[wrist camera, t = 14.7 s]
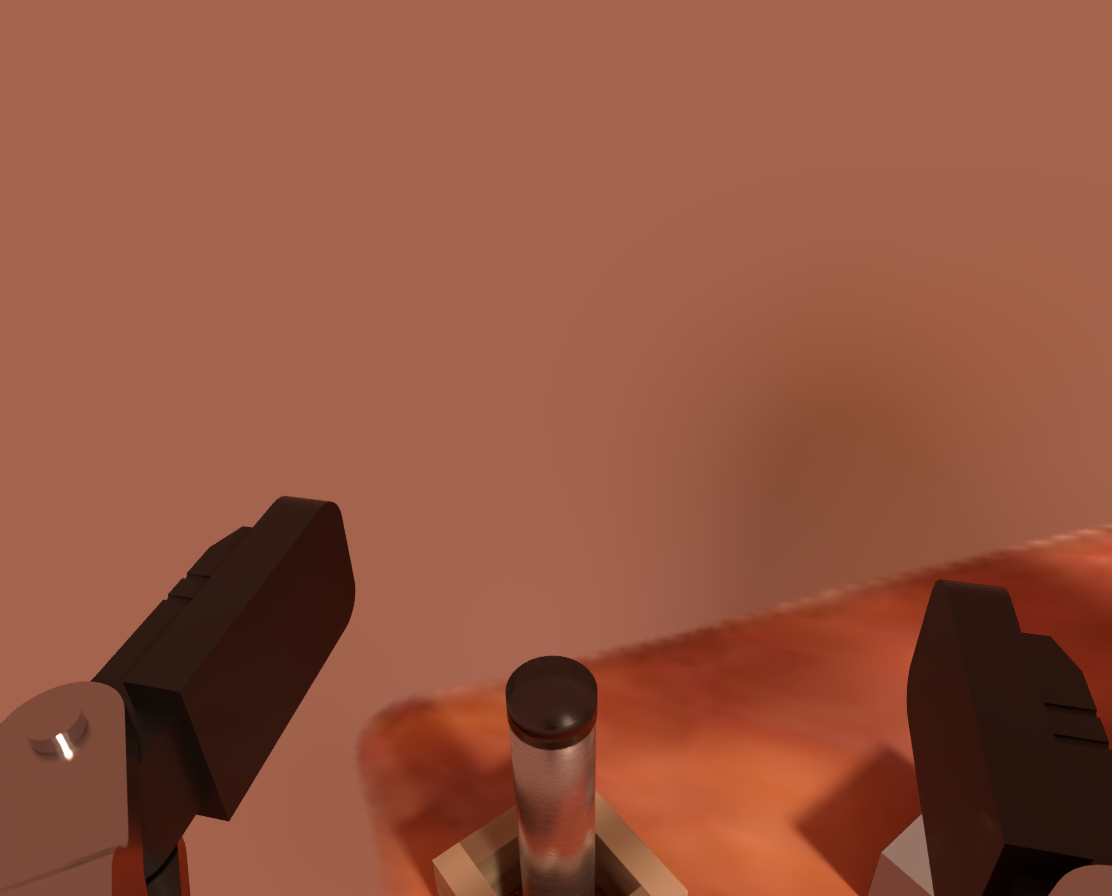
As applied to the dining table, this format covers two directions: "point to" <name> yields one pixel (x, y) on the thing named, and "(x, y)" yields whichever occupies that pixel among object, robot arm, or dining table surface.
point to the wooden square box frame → (494, 867)
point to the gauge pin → (554, 774)
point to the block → (904, 865)
